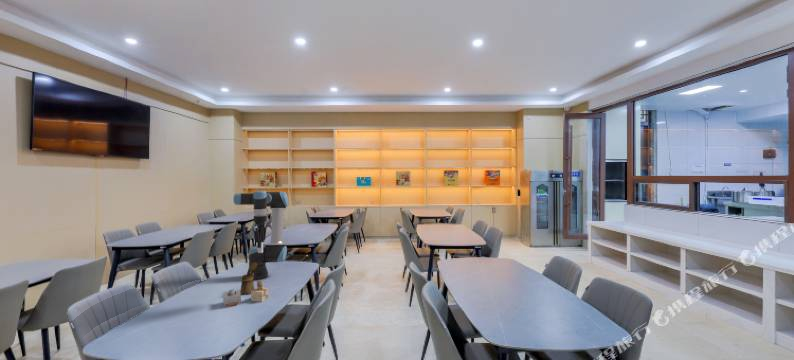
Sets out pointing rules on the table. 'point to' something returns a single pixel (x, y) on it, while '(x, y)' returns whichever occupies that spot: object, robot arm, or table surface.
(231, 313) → the table surface
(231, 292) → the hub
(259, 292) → the stand
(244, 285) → the wooden mug
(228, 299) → the square metal nut
